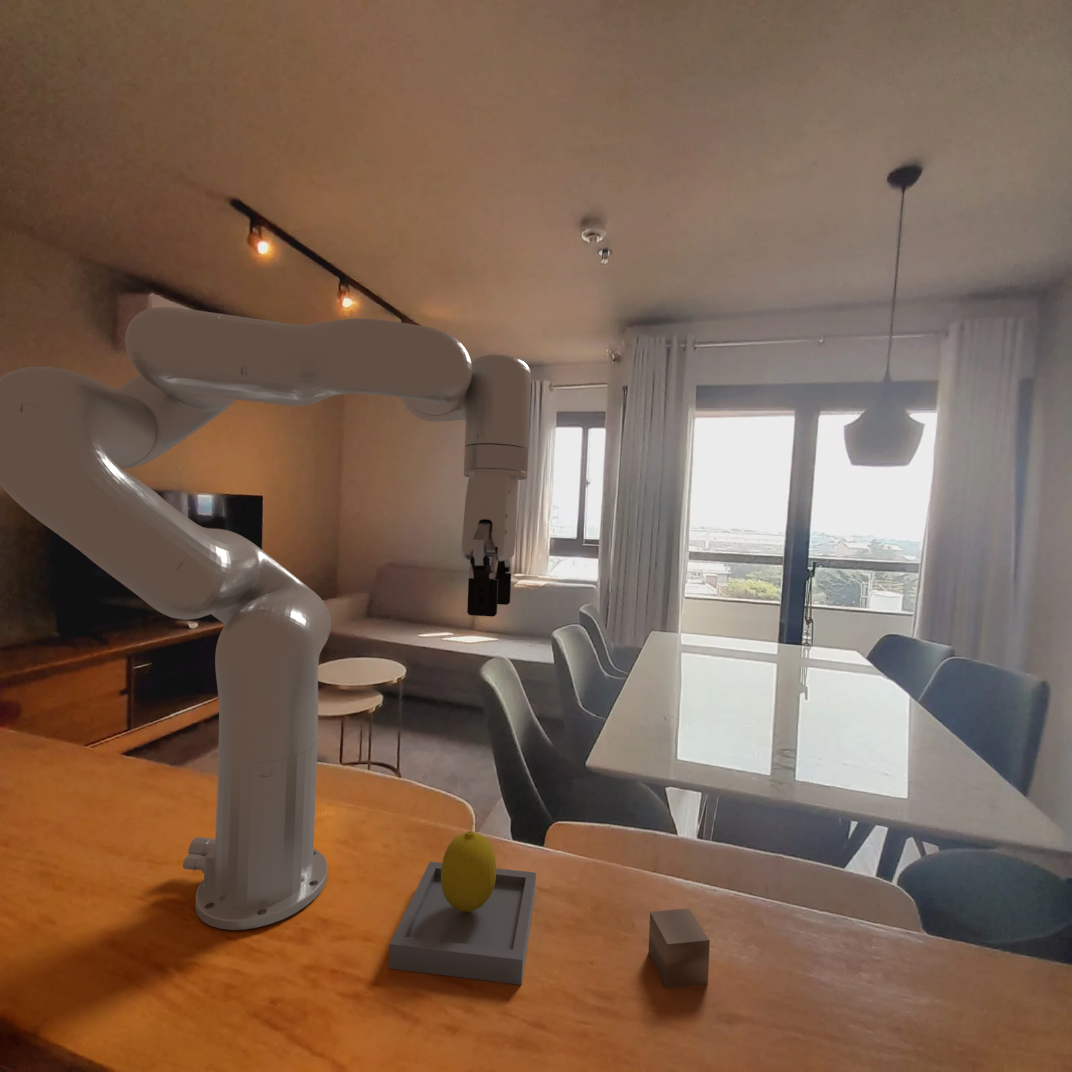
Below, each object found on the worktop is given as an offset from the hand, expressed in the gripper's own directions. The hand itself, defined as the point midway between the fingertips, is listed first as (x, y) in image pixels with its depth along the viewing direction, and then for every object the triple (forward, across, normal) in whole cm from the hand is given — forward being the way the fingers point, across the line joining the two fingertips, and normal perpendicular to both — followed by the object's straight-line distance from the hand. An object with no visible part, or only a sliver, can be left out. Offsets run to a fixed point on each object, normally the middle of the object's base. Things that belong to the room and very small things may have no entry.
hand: (490, 609), depth 63 cm
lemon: (+29, +10, +1) cm, 31 cm away
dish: (+30, +10, +1) cm, 32 cm away
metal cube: (+30, +12, +21) cm, 39 cm away
